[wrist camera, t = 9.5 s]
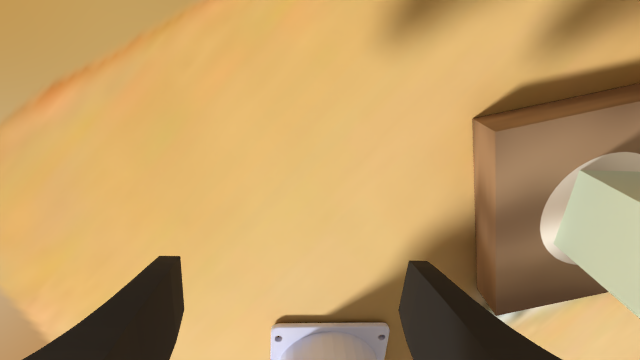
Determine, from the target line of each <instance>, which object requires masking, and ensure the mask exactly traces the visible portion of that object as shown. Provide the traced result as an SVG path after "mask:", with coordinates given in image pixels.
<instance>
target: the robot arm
mask: <svg viewBox="0 0 640 360" xmlns="http://www.w3.org/2000/svg"><path fill="white" fill-rule="evenodd" d="M183 312H184V300H183V287H182V274H181V261H180V256H159V257H158V258H157V259H155V260H154V261H153V262H152V263H151V264H150V265H148V266H147V267H146V268H145V269H144V270H143V271H142V272H141V273H139V274H138V275H137V276H136V277H135V278H134V279H133V280H132V281H130V282H129V283H128V284H127V285H126V286H125V287H123V288H122V289H121V290H120V291H119V292H118V293H116V294H115V295H114V296H113V297H112V298H111V299H109V300H108V301H107V302H106V303H104V304H103V305H102V306H100V307H99V308H98V309H97V310H95V311H94V312H93V313H91V314H90V315H89V316H88V317H86V318H85V319H84V320H82V321H81V322H80V323H78V324H77V325H76V326H74V327H73V328H71V329H70V330H68V331H67V332H66V333H64V334H63V335H61V336H60V337H58V338H56V339H55V340H53V341H52V342H50V343H49V344H47V345H46V346H44V347H43V348H41V349H40V350H38V351H36V352H35V353H33V354H31V355H29V356H28V357H26V358H24V359H23V360H169V359H170V357H171V354H172V351H173V349H174V346H175V343H176V340H177V337H178V333H179V329H180V325H181V320H182V316H183ZM399 314H400V318H401V322H402V327H403V331H404V334H405V338H406V341H407V344H408V347H409V349H410V352H411V355H412V357H413V360H562V359H560V358H558V357H556V356H555V355H553V354H551V353H550V352H548V351H546V350H545V349H543V348H541V347H540V346H538V345H536V344H535V343H533V342H532V341H530V340H529V339H527V338H526V337H524V336H522V335H521V334H519V333H518V332H516V331H515V330H513V329H512V328H511V327H509V326H508V325H506V324H505V323H504V322H502V321H501V320H499V319H498V318H497V317H495V316H494V315H493V314H491V313H490V312H489V311H487V310H486V309H485V308H484V307H482V306H481V305H480V304H478V303H477V302H476V301H475V300H473V299H472V298H471V297H470V296H469V295H467V294H466V293H465V292H464V291H463V290H461V289H460V288H459V287H458V286H457V285H455V284H454V283H453V282H452V281H451V280H450V279H448V278H447V277H446V276H445V275H444V274H442V273H441V272H440V271H439V270H438V269H437V268H435V267H434V266H433V265H432V264H430V263H429V262H428V261H409V263H408V268H407V273H406V277H405V282H404V287H403V292H402V296H401V301H400V306H399ZM389 332H390V330H389V326H388V325H387V324H386V323H382V322H381V323H278V324H275V325H273V326H272V328H271V355H270V360H384V359H385V353H386V348H387V343H388V337H389ZM379 335H382V336H379ZM276 336H281V337H276Z"/></svg>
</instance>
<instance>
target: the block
mask: <svg viewBox="0 0 640 360" xmlns="http://www.w3.org/2000/svg"><path fill="white" fill-rule="evenodd" d="M553 244H554V245H555V246H556V247H558V248H559V249H560V250H561V251H562V252H563V253H565V254H566V255H567V256H568V257H569V258H570V259H572V260H573V261H574V262H575V263H576V264H577V265H578V266H580V267H581V268H582V269H583V270H584V271H585V272H587V273H588V274H589V275H590V276H591V277H592V278H593V279H595V280H596V281H597V282H598V283H599V284H600V285H602V286H603V287H604V288H605V289H606V290H607V291H608V292H610V293H611V294H612V295H613V296H614V297H615V298H617V299H618V300H619V301H620V302H621V303H622V304H624V305H625V306H626V307H627V308H628V309H629V310H630V311H632V312H633V313H634V314H635V315H636V316H637V317H639V318H640V172H634V171H596V170H579V173H578V176H577V179H576V182H575V184H574V187H573V190H572V193H571V196H570V199H569V201H568V204H567V207H566V210H565V213H564V215H563V218H562V221H561V224H560V227H559V229H558V232H557V235H556V238H555V241H554V243H553Z"/></svg>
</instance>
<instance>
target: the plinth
mask: <svg viewBox="0 0 640 360" xmlns="http://www.w3.org/2000/svg"><path fill="white" fill-rule="evenodd" d="M473 154H474V189H475V225H476V261H477V289H478V291H479V292H480V293H481V295H482V296H483V298H484V299H485V301H486V302H487V304H488V305H489V306H490V308H491V309H492V311H493V312H494V314H495V315H496V316H497V315H502V314H506V313H511V312H516V311H521V310H525V309H530V308H535V307H540V306H544V305H549V304H554V303H559V302H563V301H568V300H573V299H578V298H582V297H587V296H592V295H597V294H601V293H606V292H608V291H607V290H606V289H605V288H604V287H603V286H602V285H600V284H599V283H598V282H597V281H596V280H595V279H593V278H592V277H591V276H590V275H589V274H588V273H587V272H585V271H584V270H583V269H582V268H581V267H580V266H578V265H577V264H576V263H575V262H574V261H573V260H572V259H570V258H569V257H568V256H567V255H566V254H565V253H563V252H562V251H561V250H560V249H559V248H558V247H556V246H555V245H554V244H553V243H554V241H555V238H556V235H557V232H558V229H559V227H560V224H561V221H562V218H563V215H564V213H565V210H566V207H567V204H568V201H569V199H570V196H571V193H572V190H573V187H574V184H575V182H576V179H577V176H578V173H579V170H596V171H634V172H640V83H638V84H634V85H629V86H624V87H620V88H615V89H610V90H605V91H601V92H596V93H591V94H587V95H582V96H577V97H573V98H568V99H563V100H558V101H554V102H549V103H544V104H540V105H535V106H530V107H526V108H521V109H516V110H511V111H507V112H502V113H497V114H493V115H488V116H483V117H478V118H474V119H473Z"/></svg>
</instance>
